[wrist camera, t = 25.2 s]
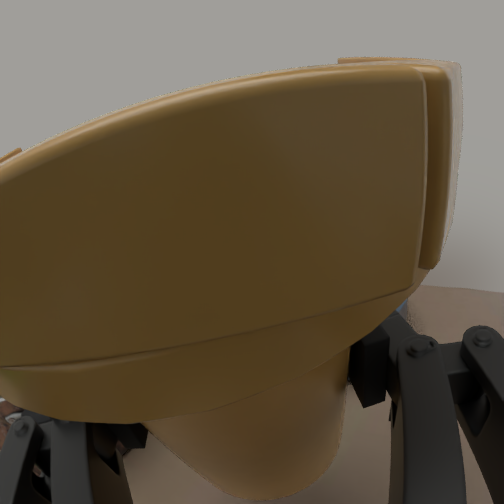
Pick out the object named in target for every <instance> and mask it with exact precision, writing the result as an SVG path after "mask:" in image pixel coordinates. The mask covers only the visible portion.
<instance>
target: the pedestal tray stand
mask: <svg viewBox="0 0 504 504" xmlns="http://www.w3.org/2000/svg"><path fill="white" fill-rule="evenodd" d="M462 131H463V95H462V76H461V66H460V64H458V63H456V62H450V61H440V60H430V59H415V58H395V57H351V58H350V57H349V58H339V59H338V64H330V65H317V66H307V67H298V68H289V69H282V70H275V71H268V72H262V73H256V74H250V75H244V76H239V77H234V78H229V79H224V80H220V81H215V82H211V83H207V84H202V85H198V86H194V87H190V88H186V89H182V90H179V91H175V92H172V93H168V94H164V95H161V96H158V97H154V98H151V99H148V100H145V101H142V102H138V103H135V104H132V105H130V106H127V107H124V108H121V109H118V110H115V111H113V112H110V113H107V114H105V115H102V116H99V117H97V118H94V119H92V120H89V121H87V122H84V123H82V124H80V125H77V126H75V127H72V128H70V129H68V130H66V131H63V132H61V133H59V134H57V135H55V136H53V137H50V138H48V139H46V140H44V141H42V142H40V143H38V144H36V145H34V146H32V147H30V148H28V149H26V150H24V151H22V150H21V148H17V149H15V150H13V151H12V152H10V153H8V154H6V155H4V156H3V157H1V158H0V397H2V398H3V399H5V400H7V401H8V402H10V403H12V404H13V405H15V406H17V407H20V408H23V409H26V410H29V411H32V412H35V413H39V414H42V415H45V416H49V417H52V418H56V419H60V420H65V421H76V422H90V423H110V424H132V423H141V424H142V425H143V426H144V427H145V428H146V429H147V430H148V431H149V432H150V433H151V434H153V435H154V436H155V437H156V438H157V439H158V440H159V441H160V442H161V443H162V444H163V445H165V446H166V447H167V448H168V449H169V450H170V451H171V452H172V453H174V454H175V455H176V456H177V457H178V458H179V459H181V460H182V461H183V462H184V463H185V464H187V465H188V466H189V467H190V468H192V469H193V470H194V471H195V472H197V473H198V474H199V475H200V476H202V477H203V478H204V479H206V480H207V481H208V482H210V483H211V484H212V485H214V486H215V487H217V488H218V489H220V490H221V491H223V492H225V493H227V494H230V495H232V496H235V497H239V498H242V499H248V500H273V499H279V498H283V497H287V496H290V495H292V494H295V493H297V492H299V491H301V490H303V489H305V488H306V487H308V486H310V485H311V484H312V483H314V482H315V481H316V480H317V479H318V478H319V477H320V476H322V475H323V474H324V473H325V471H326V470H327V469H328V467H329V466H330V465H331V463H332V461H333V460H334V458H335V456H336V454H337V451H338V448H339V445H340V440H341V435H342V428H343V420H344V412H345V404H346V395H347V385H348V375H349V364H350V351H351V345H353V344H354V343H356V342H357V341H359V340H360V339H362V338H363V337H365V336H366V335H368V334H369V333H371V332H372V331H373V330H374V329H375V328H376V327H377V326H379V325H380V324H381V323H382V322H383V321H384V320H385V319H386V318H387V317H388V316H389V315H391V314H392V313H393V312H394V311H395V310H396V309H397V308H398V307H399V306H400V305H401V304H402V303H403V302H404V301H405V300H406V299H407V298H408V297H409V296H410V295H411V294H412V293H413V292H414V291H415V290H416V289H417V288H418V287H419V285H420V284H421V282H422V281H423V279H424V278H425V277H426V275H427V274H428V272H429V271H430V269H433V268H434V267H435V266H436V265H437V263H438V262H439V261H440V257H441V253H442V251H443V248H444V245H445V242H446V240H447V237H448V234H449V231H450V228H451V225H452V221H453V215H454V207H455V199H456V189H457V179H458V167H459V158H460V151H461V141H462Z"/></svg>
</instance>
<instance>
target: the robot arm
mask: <svg viewBox="0 0 504 504" xmlns="http://www.w3.org/2000/svg"><path fill="white" fill-rule="evenodd" d="M348 377H349V379H350V381H351V383H352V386H353V388H354V390H355V392H356V394H357V396H358V398H359V400H360V402H361V404H362V406H363V408H366V407H369V406H372V405H375V404H377V403H380V402H383V401H385V396H386V390H387V392H388V394H389V395H390V397H391V399H392V401H391V408H390V415H389V421H391V469H390V489H389V503H388V504H467V501H466V486H465V474H464V465H463V456H462V449H461V442H460V435H459V429H458V423H457V420H458V422H459V424H460V426H461V428H462V430H463V432H464V434H465V436H466V438H467V441H468V443H469V445H470V447H471V449H472V452H473V454H474V456H475V458H476V461H477V463H478V465H479V468H480V470H481V472H482V475H483V477H484V480H485V482H486V484H487V487H488V490H489V492H490V495H491V497H492V500H493V503H494V504H504V339H503V338H502V336H501V335H500V334H499V333H498V332H497V331H496V330H494V329H493V328H490V327H488V326H480V325H479V326H473V327H471V328H469V329H467V330H466V332H465V333H464V335H463V340H462V341H461V342H455V343H448V344H438V342H437V341H436V340H435V339H433V338H432V337H429V336H426V335H418V334H417V333H416V332H415V331H414V330H413V329H412V327H411V326H410V325H409V324H408V323H407V322H406V321H405V319H404V318H403V317H402V316H401V315H400V314H399V313H398V312H397V310H395V311H394V312H393V313H392V314H391V315H389V316H388V317H387V318H386V319H385V320H384V321H383V322H382V323H381V324H380V325H379V326H377V327H376V328H375V329H374V330H373V331H372V332H371V333H369V334H368V335H366V336H365V337H363V338H362V339H360V340H359V341H357V342H356V343H354V344H353V345H351V351H350V364H349V375H348ZM49 418H50V419H51V420H52V421H51V422H47V423H43V424H39V425H38V424H37V422H36V421H35V420H34V419H33V418H32V417H31V416H23V417H20V418H18V419H16V420H15V421H14V422H13V423H12V425H11V426H10V428H9V430H8V433H7V435H6V438H5V440H4V443H3V446H2V448H1V451H0V504H133V501H132V497H131V493H130V490H129V486H128V482H127V478H126V473H125V469H124V465H123V460H122V456H121V454H120V452H119V451H118V450H117V448H116V445H117V441H118V440H119V441H120V442H121V444H122V445H123V446H124V447H125V448H126V449H134V448H145V445H146V439H147V434H148V430H147V429H146V428H145V427H144V426H143V425H142V424H141V423H132V424H110V423H90V422H76V421H65V420H60V419H56V418H52V417H49ZM34 465H35V466H36V467H37V468H38V469H39V470H40V471H41V475H40V476H37V475H36V474H35V473H34V472H33V469H34Z"/></svg>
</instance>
